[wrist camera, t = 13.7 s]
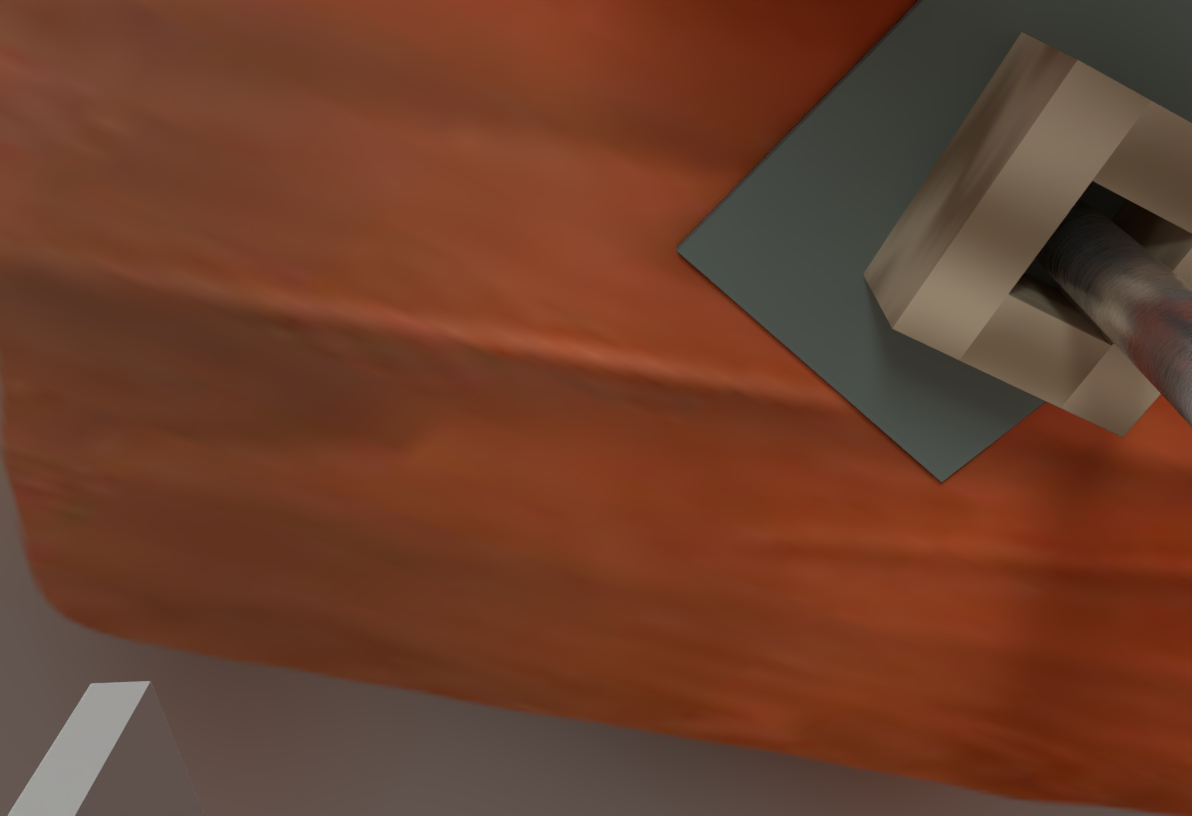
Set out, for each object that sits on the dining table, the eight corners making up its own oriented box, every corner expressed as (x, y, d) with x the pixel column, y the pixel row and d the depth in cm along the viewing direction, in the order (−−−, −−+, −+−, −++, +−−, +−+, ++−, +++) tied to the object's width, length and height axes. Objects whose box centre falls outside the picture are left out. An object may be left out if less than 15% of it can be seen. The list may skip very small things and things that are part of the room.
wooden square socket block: (1021, 31, 35) (1077, 59, 31) (1246, 156, 37) (1329, 199, 33) (863, 274, 40) (892, 328, 35) (1070, 374, 41) (1122, 437, 37)
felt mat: (1228, -316, 30) (1235, -318, 30) (1482, 53, 35) (1491, 55, 35) (676, 247, 40) (676, 251, 39) (939, 477, 45) (941, 482, 44)
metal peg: (1042, 173, 37) (1336, 422, 22) (1099, 203, 38) (1426, 468, 22) (999, 233, 39) (1248, 510, 23) (1054, 261, 39) (1335, 551, 23)
